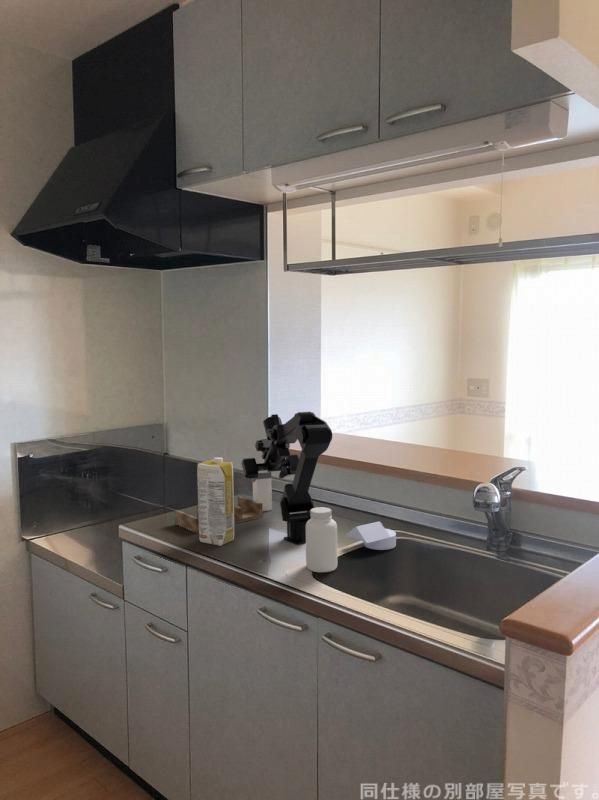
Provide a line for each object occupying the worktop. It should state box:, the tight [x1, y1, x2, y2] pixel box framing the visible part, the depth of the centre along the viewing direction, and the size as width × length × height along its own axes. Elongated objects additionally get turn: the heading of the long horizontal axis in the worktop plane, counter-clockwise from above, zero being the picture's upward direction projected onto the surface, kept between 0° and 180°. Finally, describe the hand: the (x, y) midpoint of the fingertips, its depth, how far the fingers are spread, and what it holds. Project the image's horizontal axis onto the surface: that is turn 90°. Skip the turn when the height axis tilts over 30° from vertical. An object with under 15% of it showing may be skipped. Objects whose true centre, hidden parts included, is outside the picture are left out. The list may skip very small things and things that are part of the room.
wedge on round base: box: [345, 521, 397, 551], centre depth 179 cm, size 9×7×13 cm
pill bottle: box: [305, 506, 338, 573], centre depth 163 cm, size 8×8×15 cm
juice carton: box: [196, 457, 235, 547], centre depth 183 cm, size 9×8×24 cm
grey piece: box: [252, 471, 273, 513], centre depth 216 cm, size 5×5×13 cm
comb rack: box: [174, 495, 264, 534], centre depth 204 cm, size 12×25×4 cm, turn 132°
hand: (266, 479), depth 212 cm, fingers open, 9 cm apart
